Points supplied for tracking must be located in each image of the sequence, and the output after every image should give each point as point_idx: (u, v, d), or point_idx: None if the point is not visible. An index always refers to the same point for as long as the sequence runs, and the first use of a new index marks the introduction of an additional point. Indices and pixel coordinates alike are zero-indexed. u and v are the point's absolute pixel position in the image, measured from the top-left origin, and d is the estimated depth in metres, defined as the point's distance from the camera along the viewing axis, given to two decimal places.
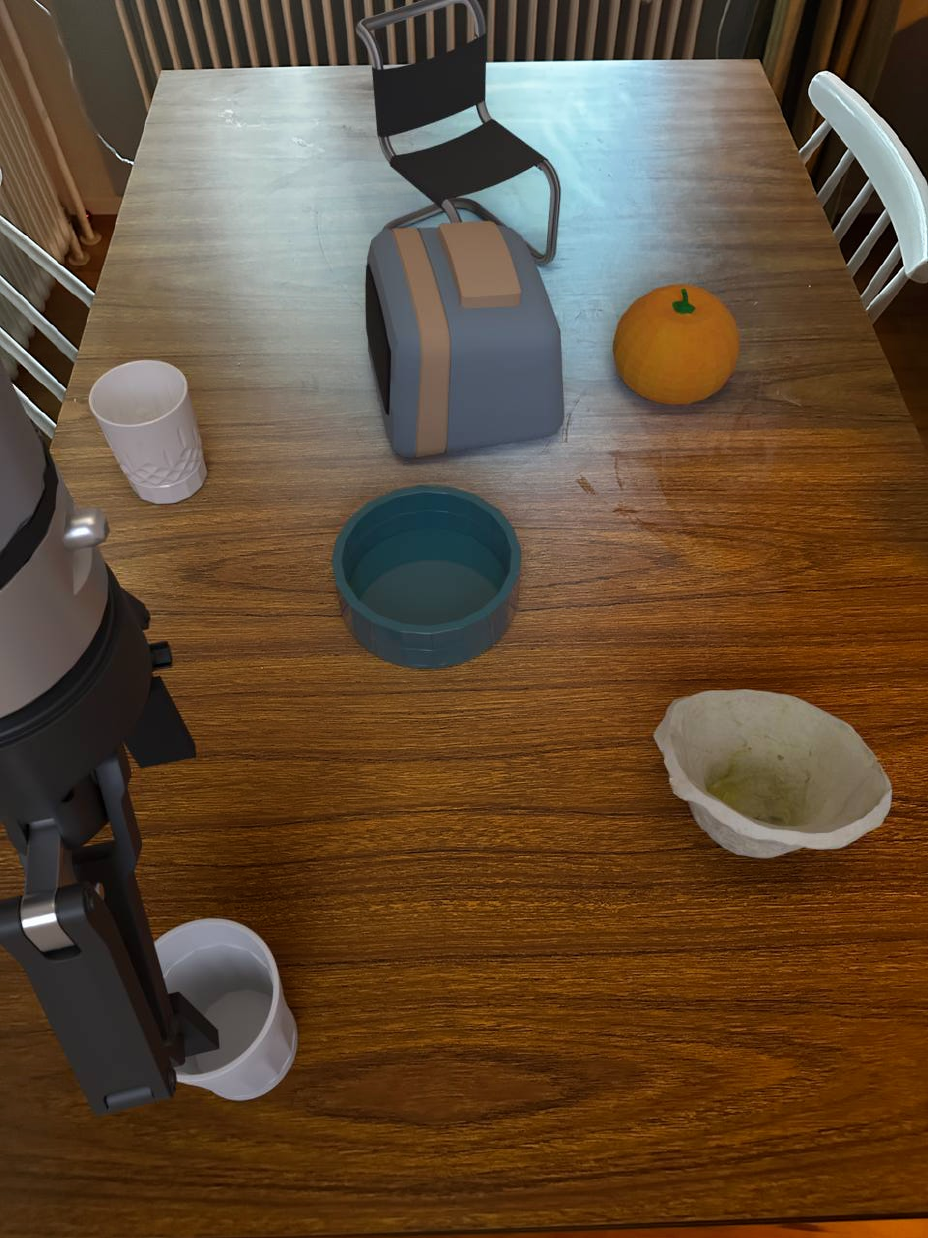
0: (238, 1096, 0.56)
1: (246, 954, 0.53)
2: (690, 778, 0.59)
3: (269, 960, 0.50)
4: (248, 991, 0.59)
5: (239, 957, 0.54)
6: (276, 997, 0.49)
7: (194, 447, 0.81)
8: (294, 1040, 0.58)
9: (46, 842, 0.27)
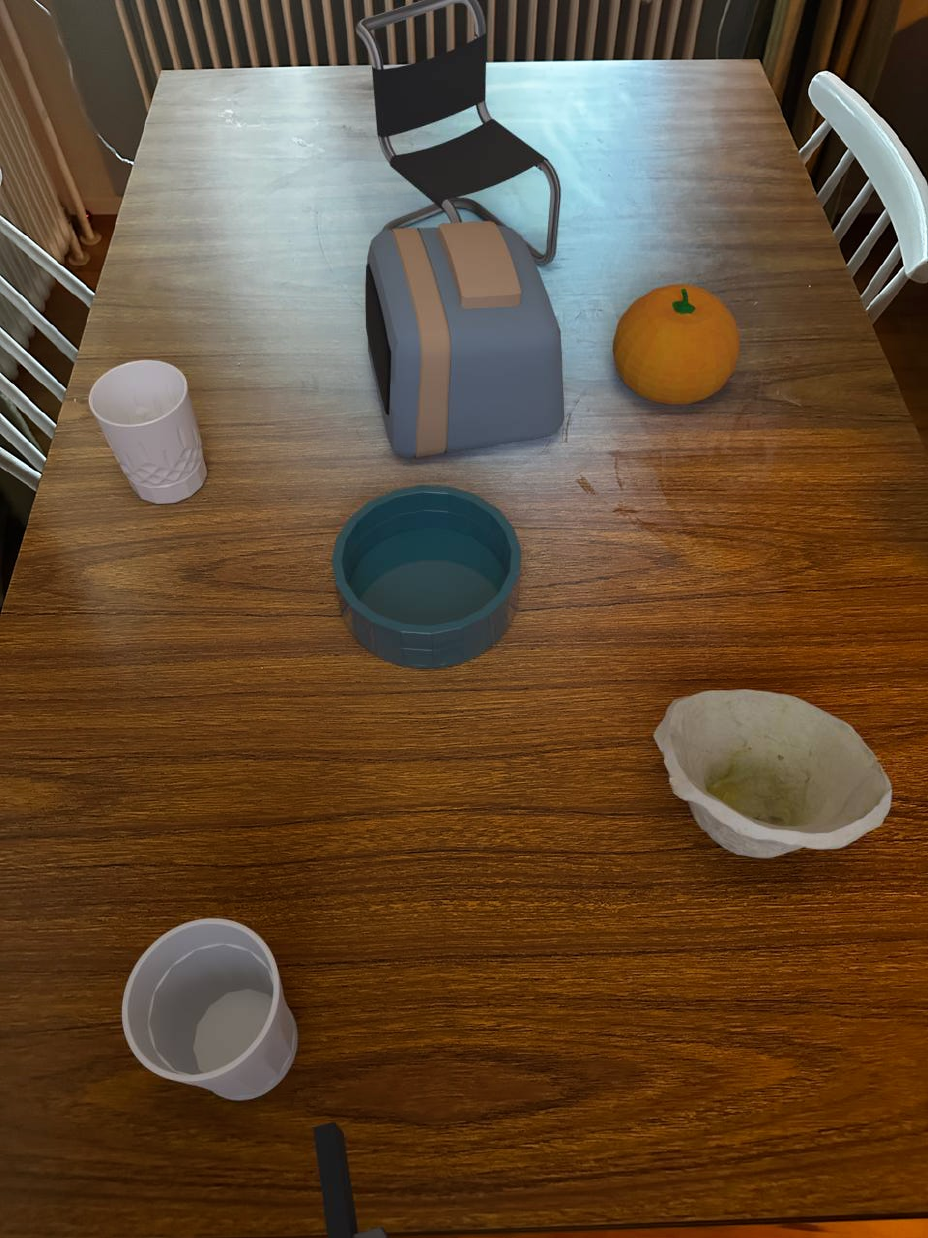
0: (238, 1096, 0.56)
1: (246, 954, 0.53)
2: (690, 778, 0.59)
3: (269, 960, 0.50)
4: (248, 991, 0.59)
5: (239, 957, 0.54)
6: (276, 997, 0.49)
7: (194, 447, 0.81)
8: (294, 1040, 0.58)
9: None
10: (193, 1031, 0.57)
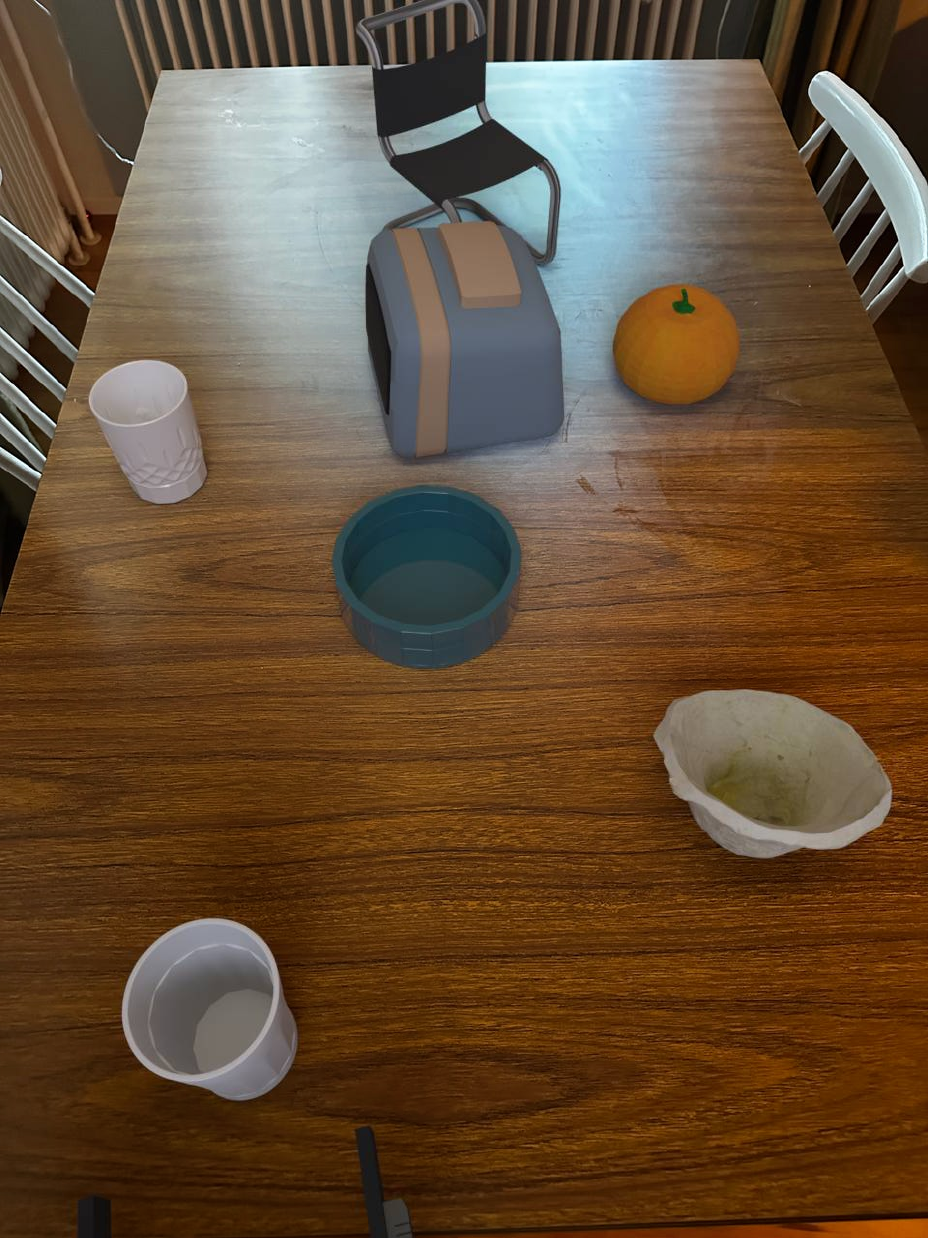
0: (238, 1096, 0.56)
1: (246, 954, 0.53)
2: (690, 778, 0.59)
3: (269, 960, 0.50)
4: (248, 991, 0.59)
5: (239, 957, 0.54)
6: (276, 997, 0.49)
7: (194, 447, 0.81)
8: (294, 1040, 0.58)
9: None
10: (193, 1031, 0.57)
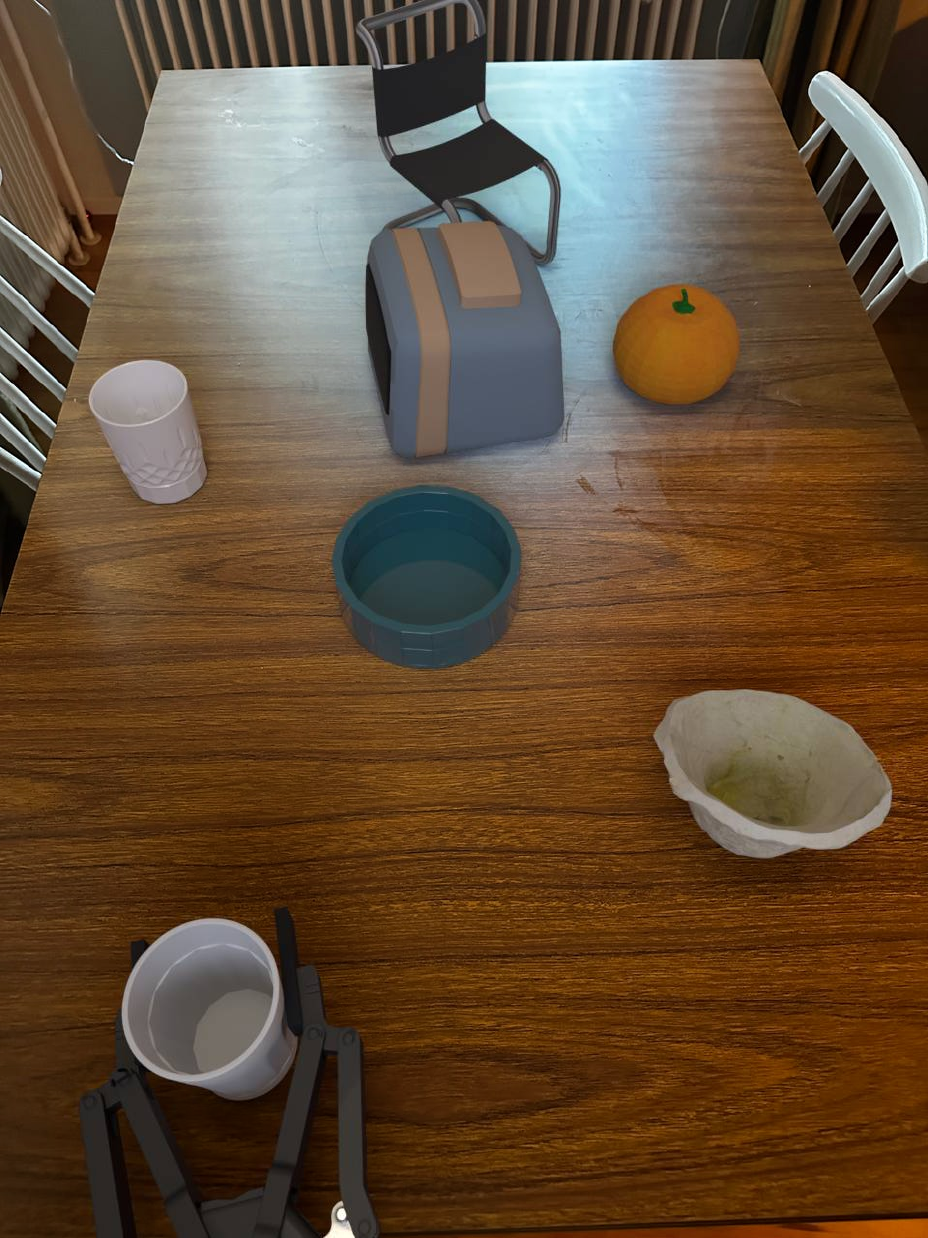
0: (238, 1096, 0.56)
1: (246, 954, 0.53)
2: (690, 778, 0.59)
3: (269, 960, 0.50)
4: (248, 991, 0.59)
5: (239, 957, 0.54)
6: (276, 997, 0.49)
7: (194, 447, 0.81)
8: (294, 1040, 0.58)
9: None
10: (193, 1031, 0.57)
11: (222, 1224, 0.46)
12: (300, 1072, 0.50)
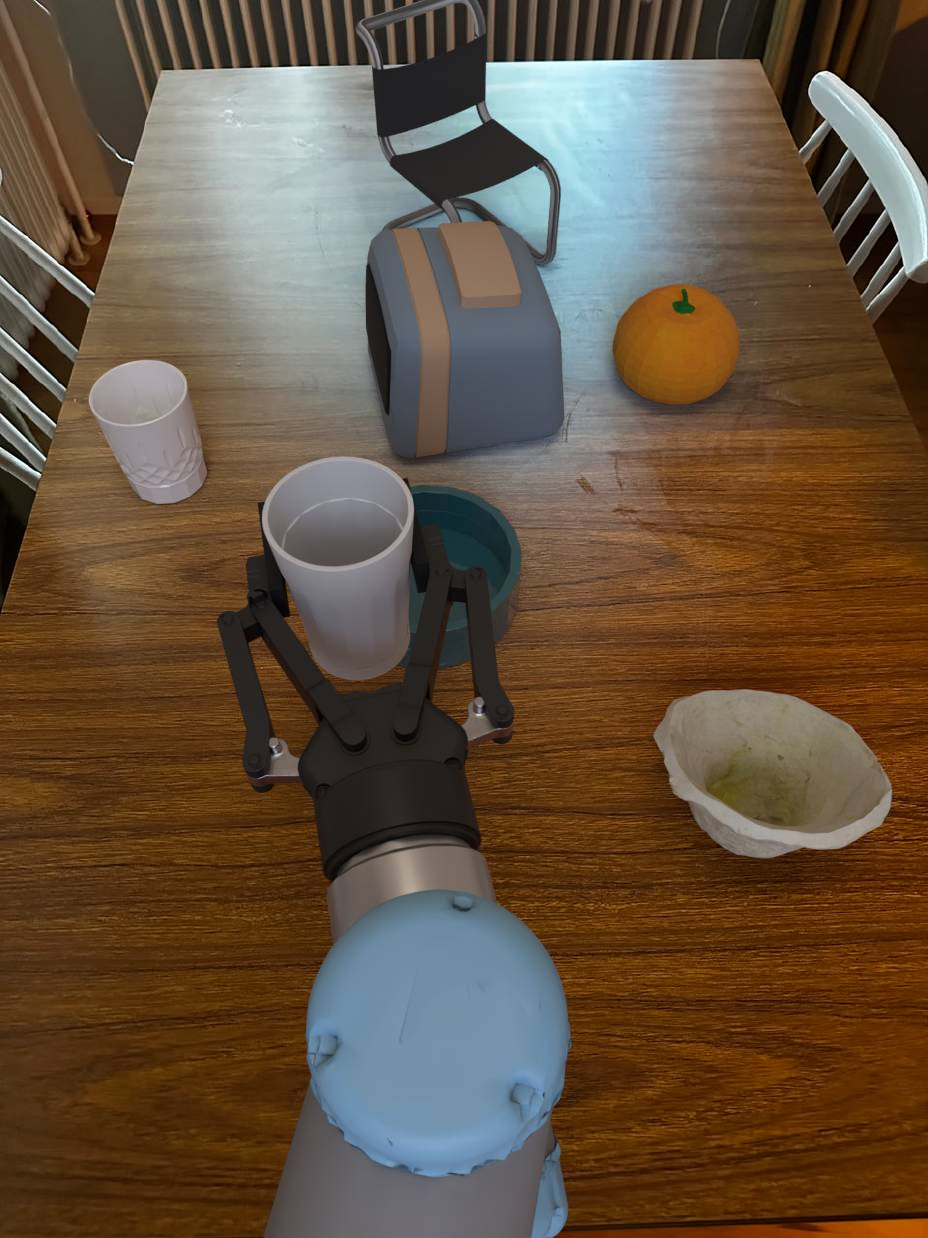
0: (357, 669, 0.57)
1: (371, 511, 0.55)
2: (690, 778, 0.59)
3: (402, 485, 0.51)
4: None
5: (363, 520, 0.55)
6: (411, 512, 0.50)
7: (194, 447, 0.81)
8: (409, 628, 0.59)
9: (297, 780, 0.47)
10: None
11: (363, 708, 0.48)
12: (430, 599, 0.51)
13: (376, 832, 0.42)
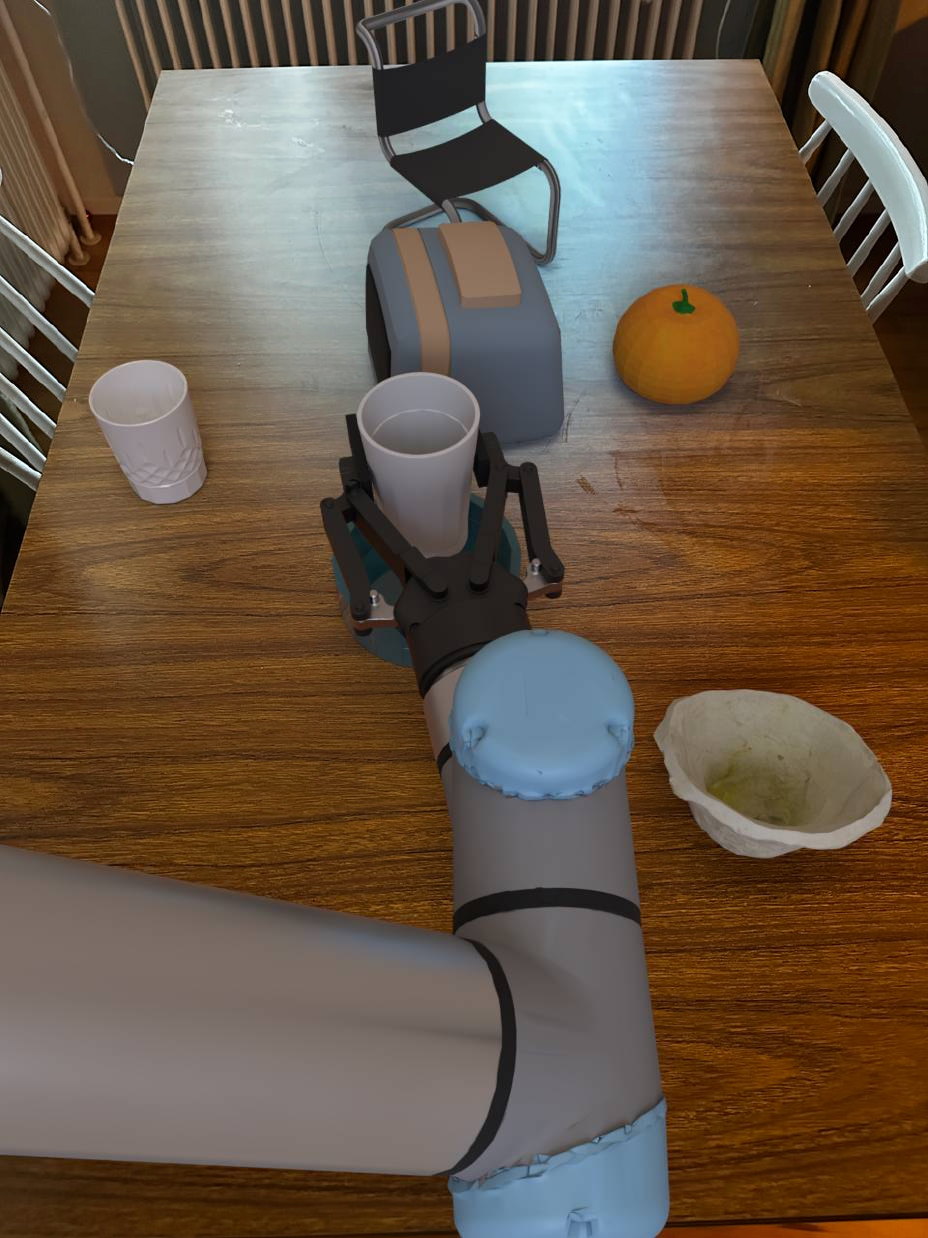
0: (426, 554, 0.69)
1: (440, 420, 0.66)
2: (690, 778, 0.59)
3: (469, 394, 0.63)
4: None
5: (432, 428, 0.67)
6: (478, 413, 0.62)
7: (194, 447, 0.81)
8: (467, 523, 0.71)
9: (392, 624, 0.58)
10: None
11: (443, 568, 0.59)
12: (492, 486, 0.63)
13: (463, 648, 0.53)
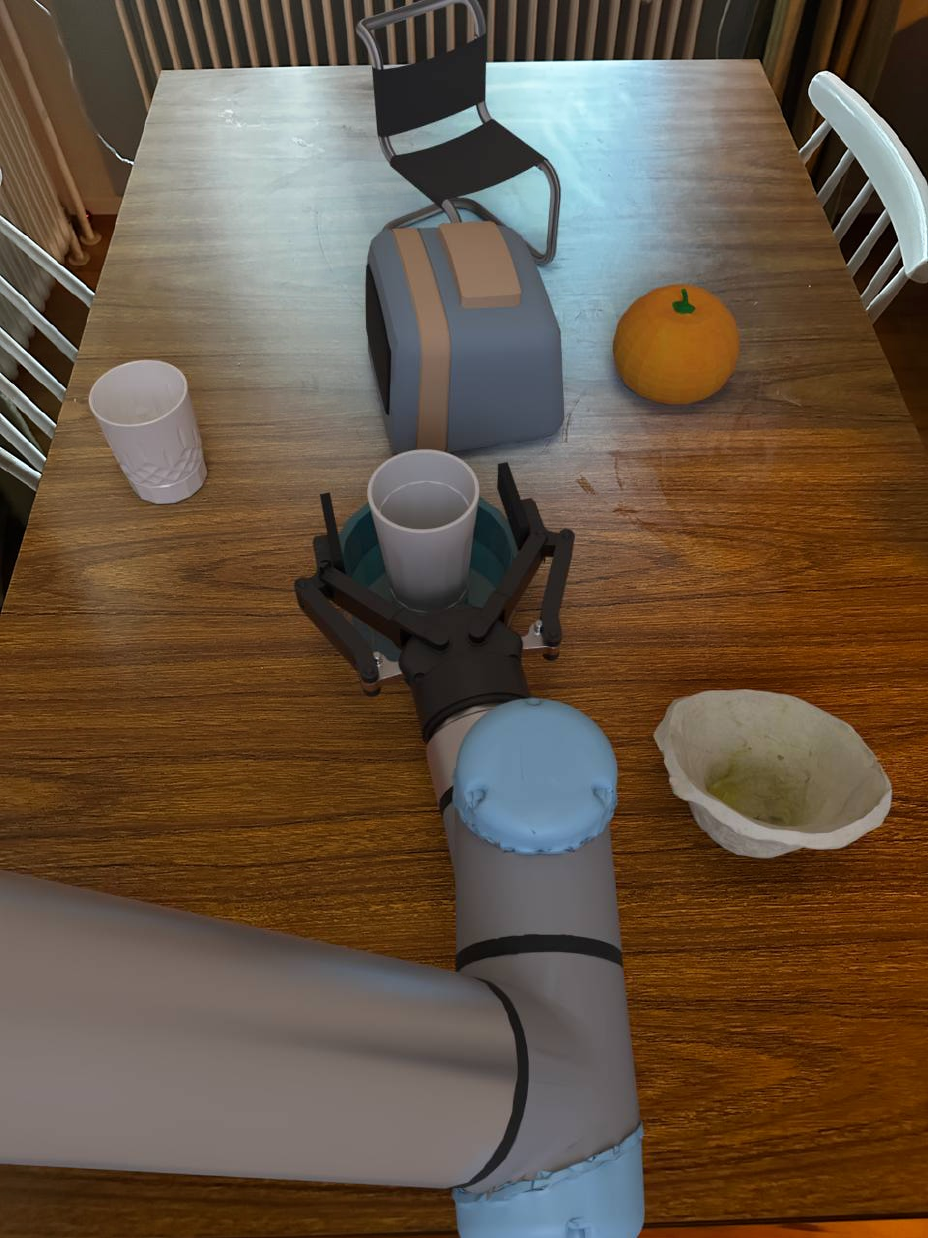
0: None
1: (442, 491, 0.72)
2: (690, 778, 0.59)
3: (469, 470, 0.69)
4: None
5: (435, 498, 0.73)
6: (477, 489, 0.68)
7: (194, 447, 0.81)
8: (467, 582, 0.77)
9: (400, 677, 0.63)
10: None
11: (445, 620, 0.64)
12: (525, 550, 0.68)
13: (464, 700, 0.58)
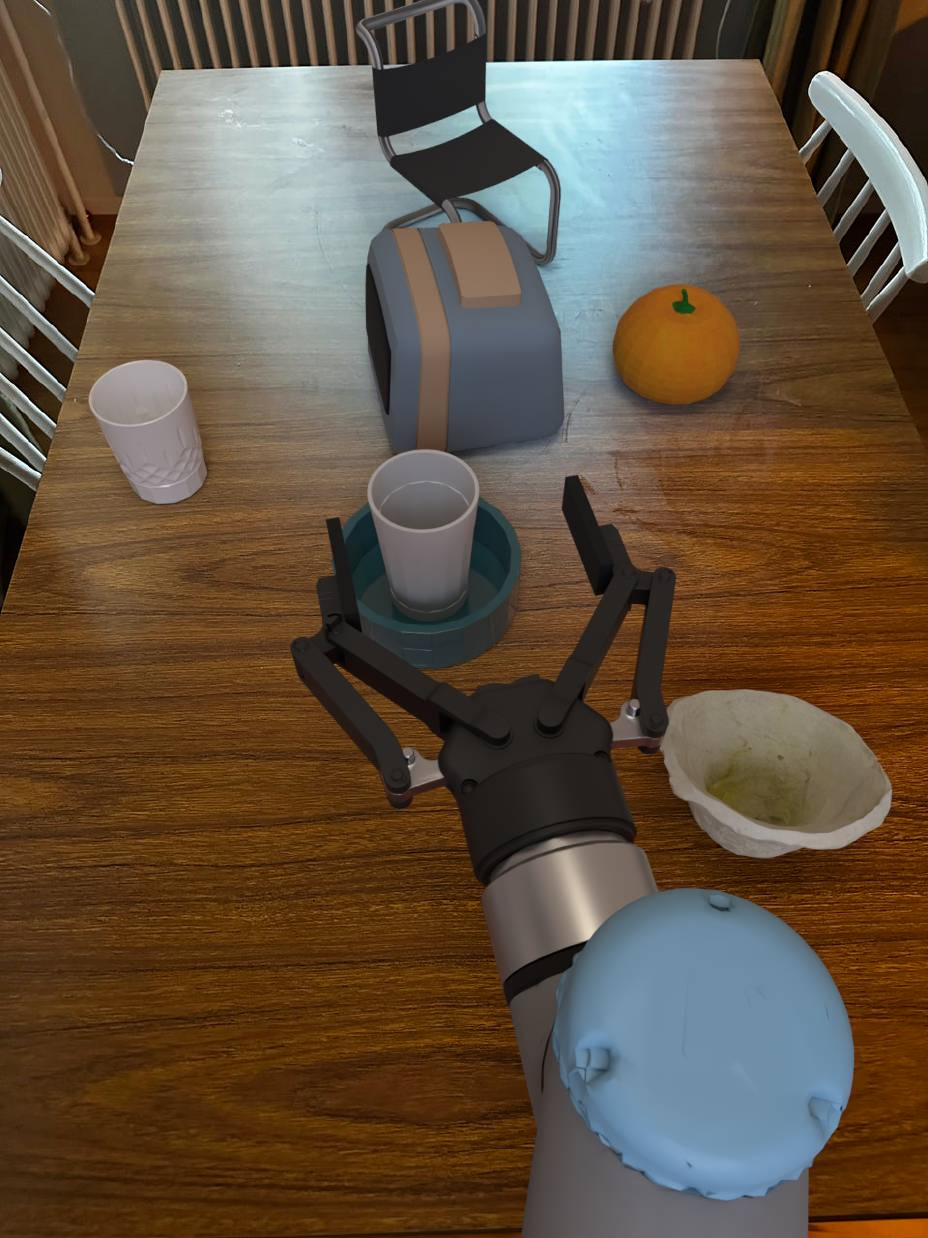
0: (430, 612, 0.75)
1: (442, 491, 0.72)
2: (690, 778, 0.59)
3: (469, 470, 0.69)
4: None
5: (435, 498, 0.73)
6: (477, 489, 0.68)
7: (194, 447, 0.81)
8: (467, 582, 0.77)
9: (441, 783, 0.45)
10: None
11: (502, 700, 0.46)
12: (609, 597, 0.49)
13: (538, 829, 0.40)
